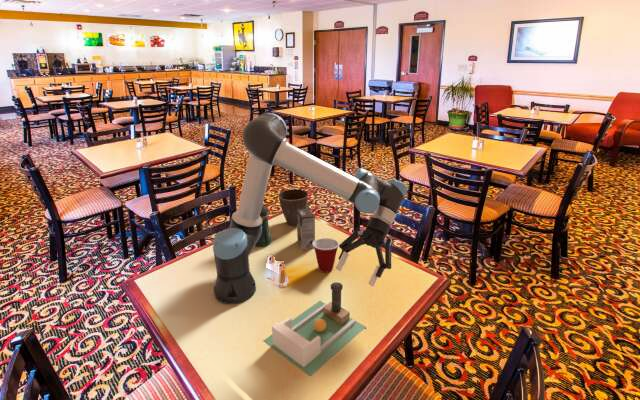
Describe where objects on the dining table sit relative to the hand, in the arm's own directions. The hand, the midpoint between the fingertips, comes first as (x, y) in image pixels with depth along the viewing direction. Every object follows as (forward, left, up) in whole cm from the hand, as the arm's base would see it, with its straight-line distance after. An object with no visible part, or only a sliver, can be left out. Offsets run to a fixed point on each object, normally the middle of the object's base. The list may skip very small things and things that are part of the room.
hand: (353, 277), depth 123 cm
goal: (-1, -26, -12) cm, 29 cm away
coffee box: (-44, +22, -13) cm, 51 cm away
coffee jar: (-61, +9, -13) cm, 63 cm away
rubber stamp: (-1, -8, -13) cm, 15 cm away
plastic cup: (-24, +13, -13) cm, 30 cm away
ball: (-1, -16, -10) cm, 19 cm away
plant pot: (-64, +34, -13) cm, 73 cm away
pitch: (-1, -18, -13) cm, 22 cm away
